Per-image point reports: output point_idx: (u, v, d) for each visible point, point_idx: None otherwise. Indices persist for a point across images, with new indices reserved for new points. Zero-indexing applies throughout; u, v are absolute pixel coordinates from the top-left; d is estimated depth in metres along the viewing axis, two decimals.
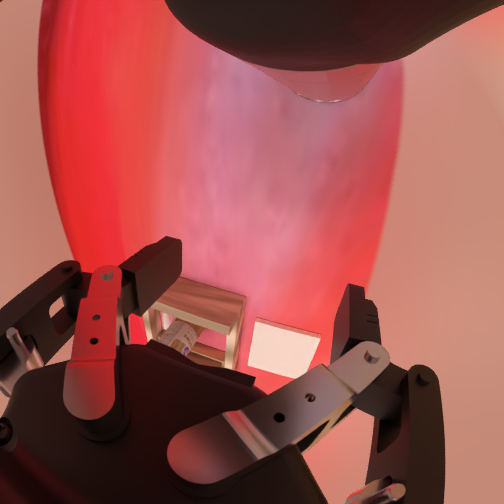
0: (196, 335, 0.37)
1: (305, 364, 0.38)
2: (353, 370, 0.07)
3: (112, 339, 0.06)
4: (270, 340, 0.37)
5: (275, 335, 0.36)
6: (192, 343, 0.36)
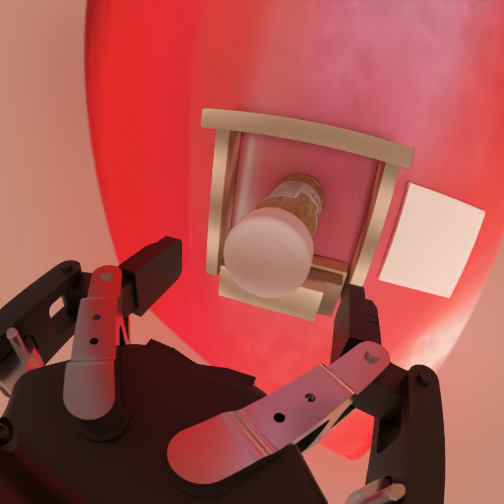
0: None
1: (460, 264, 0.22)
2: (353, 370, 0.07)
3: (112, 339, 0.06)
4: (425, 220, 0.21)
5: (434, 210, 0.21)
6: (319, 216, 0.20)
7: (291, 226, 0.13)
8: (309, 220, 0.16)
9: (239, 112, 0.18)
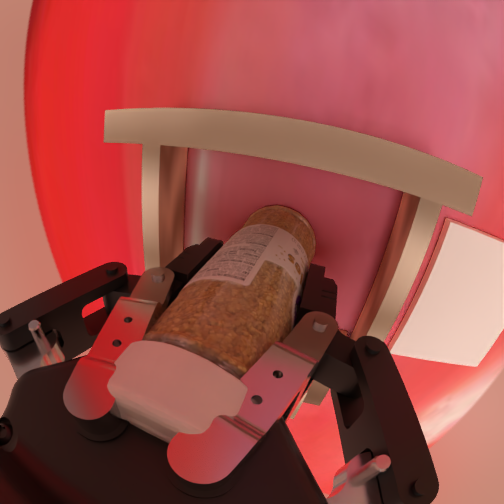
0: (308, 269, 0.13)
1: (498, 328, 0.13)
2: (297, 334, 0.08)
3: None
4: (465, 275, 0.13)
5: (478, 261, 0.12)
6: None
7: (197, 424, 0.04)
8: (270, 342, 0.07)
9: (155, 110, 0.09)
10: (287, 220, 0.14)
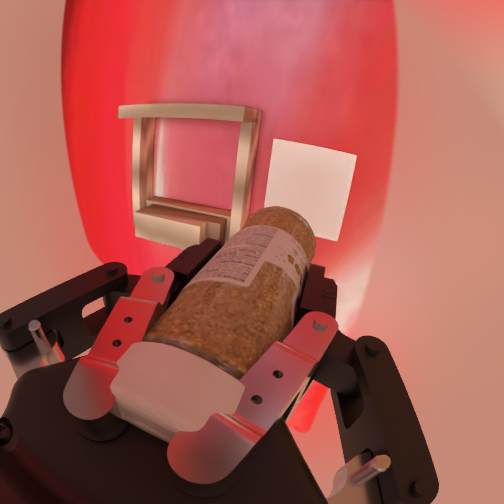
0: None
1: (340, 207, 0.29)
2: (297, 334, 0.08)
3: None
4: (293, 167, 0.29)
5: (299, 158, 0.28)
6: (303, 290, 0.12)
7: (196, 425, 0.04)
8: (270, 343, 0.07)
9: (137, 105, 0.25)
10: (287, 221, 0.14)
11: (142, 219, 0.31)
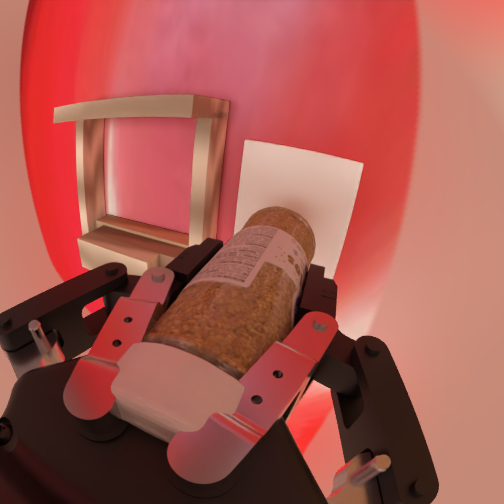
0: None
1: (338, 235, 0.21)
2: (297, 334, 0.08)
3: None
4: (272, 180, 0.21)
5: (281, 167, 0.20)
6: None
7: (196, 425, 0.04)
8: (270, 344, 0.07)
9: (71, 105, 0.17)
10: (287, 221, 0.14)
11: (85, 247, 0.23)
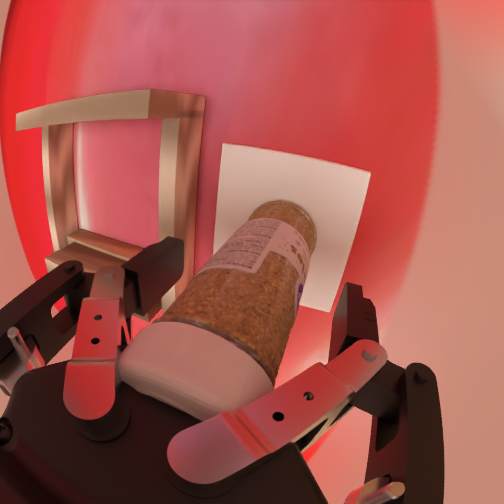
0: (309, 260, 0.14)
1: (337, 261, 0.17)
2: (350, 368, 0.07)
3: (113, 339, 0.06)
4: (256, 194, 0.17)
5: (267, 177, 0.16)
6: (305, 279, 0.13)
7: (212, 393, 0.05)
8: (276, 324, 0.08)
9: (30, 110, 0.13)
10: (289, 214, 0.15)
11: (53, 268, 0.19)
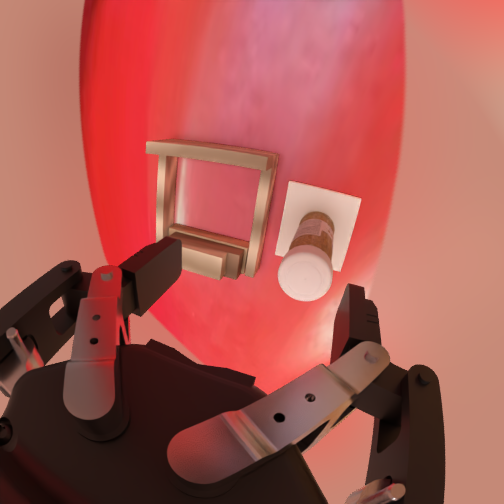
0: (333, 238, 0.30)
1: (344, 242, 0.33)
2: (353, 370, 0.07)
3: (112, 339, 0.06)
4: (305, 207, 0.33)
5: (311, 200, 0.33)
6: None
7: (322, 258, 0.21)
8: (329, 251, 0.24)
9: (165, 143, 0.29)
10: (323, 218, 0.31)
11: None
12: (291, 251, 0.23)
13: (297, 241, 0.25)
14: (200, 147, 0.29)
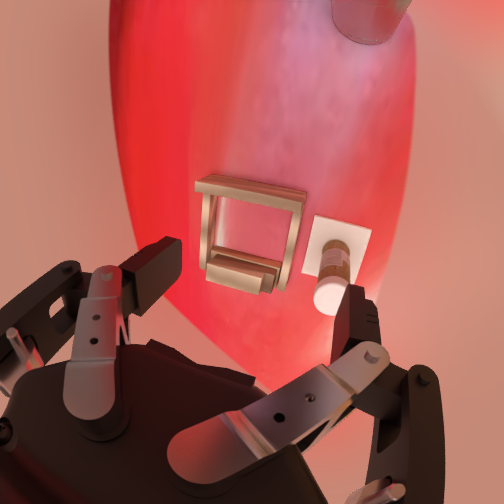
0: None
1: (357, 263, 0.41)
2: (353, 370, 0.07)
3: (112, 339, 0.06)
4: (327, 236, 0.41)
5: (332, 230, 0.41)
6: None
7: (345, 286, 0.29)
8: (349, 278, 0.32)
9: (213, 185, 0.37)
10: (342, 246, 0.39)
11: (213, 268, 0.44)
12: (323, 281, 0.31)
13: (325, 271, 0.33)
14: (245, 191, 0.37)
